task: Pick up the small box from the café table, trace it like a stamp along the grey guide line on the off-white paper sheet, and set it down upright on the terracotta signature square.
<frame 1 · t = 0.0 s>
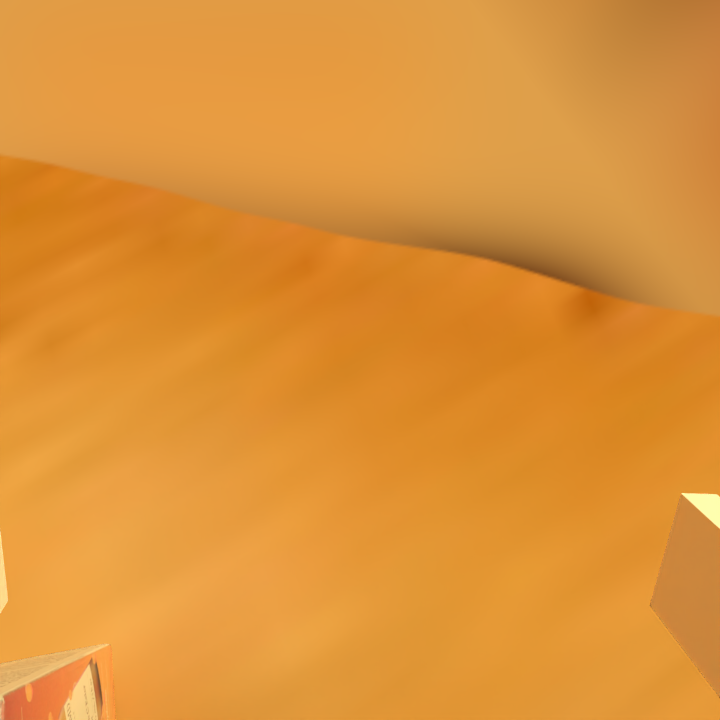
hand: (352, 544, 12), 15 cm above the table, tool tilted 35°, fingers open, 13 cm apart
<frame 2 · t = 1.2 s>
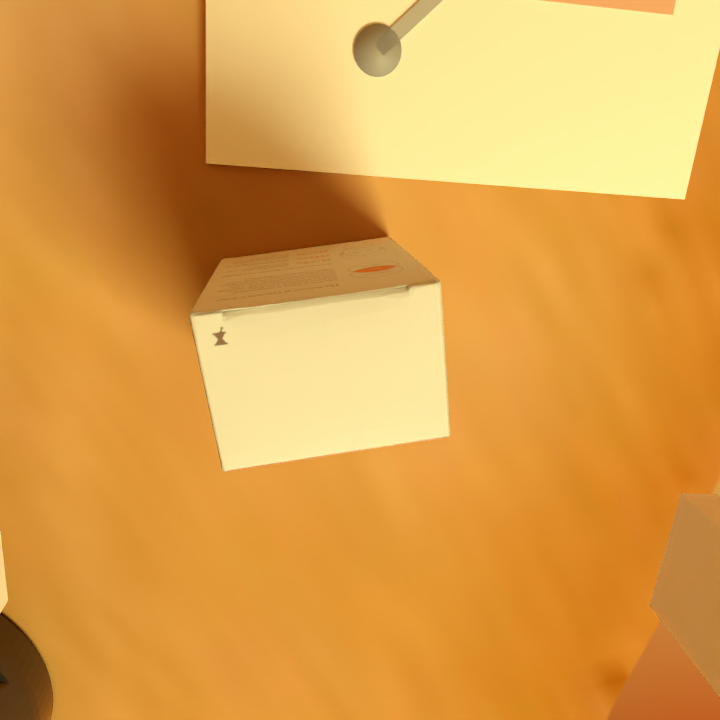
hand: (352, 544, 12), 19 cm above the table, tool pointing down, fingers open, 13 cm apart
small box: (314, 302, 30), on the table
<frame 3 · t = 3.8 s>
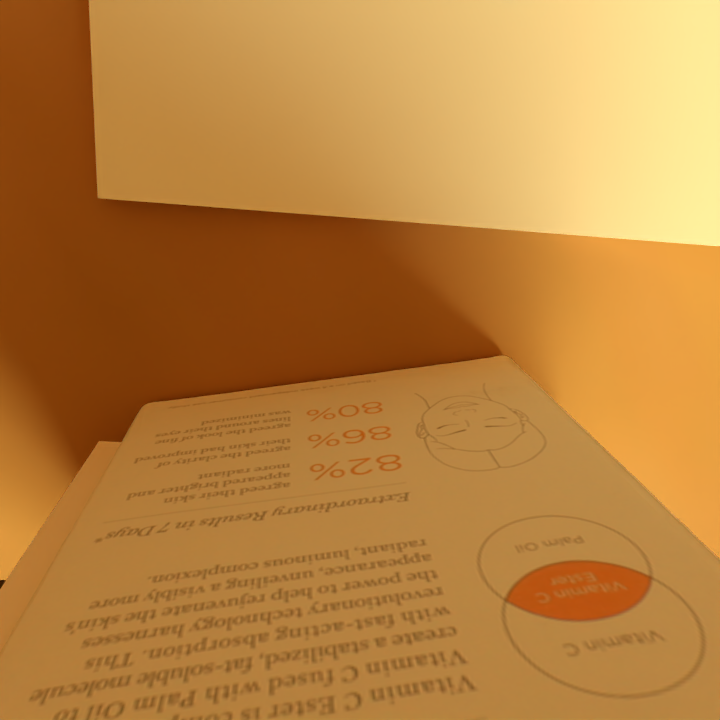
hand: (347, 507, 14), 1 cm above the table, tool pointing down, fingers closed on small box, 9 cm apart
small box: (343, 480, 15), on the table, touching gripper
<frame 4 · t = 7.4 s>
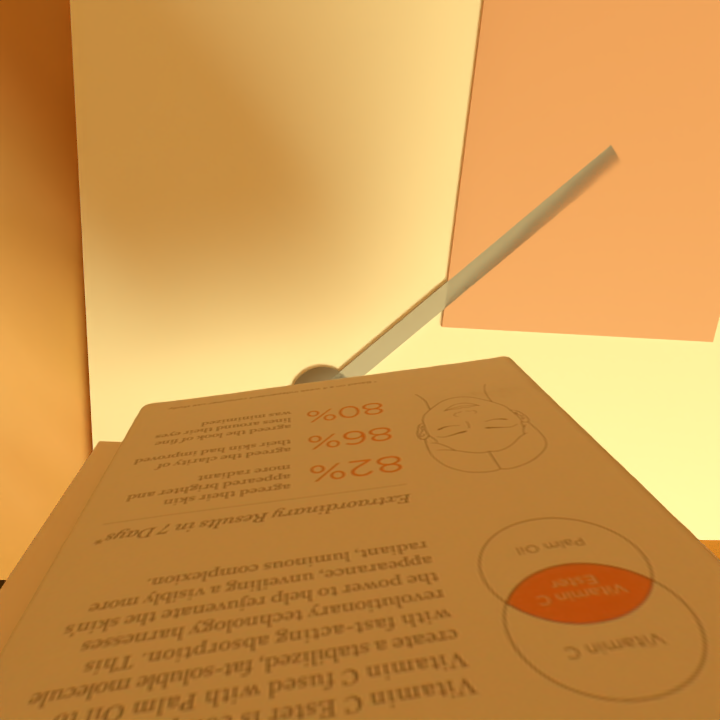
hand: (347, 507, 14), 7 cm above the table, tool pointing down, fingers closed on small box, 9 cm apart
small box: (344, 481, 15), point 6 cm above the table, touching gripper
paper sheet: (460, 276, 19), on the table
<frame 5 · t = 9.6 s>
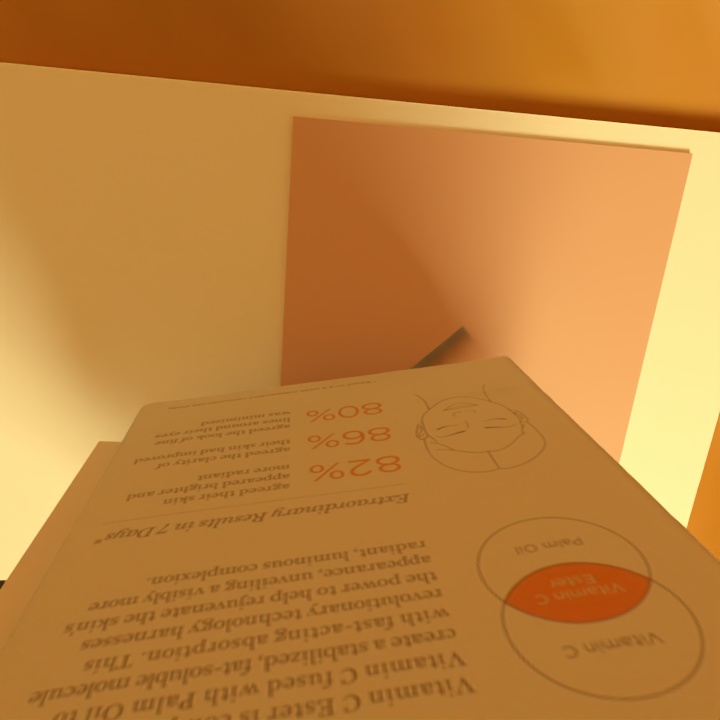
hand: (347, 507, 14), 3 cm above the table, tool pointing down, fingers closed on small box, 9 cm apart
small box: (343, 481, 15), point 2 cm above the table, touching gripper
paper sheet: (296, 466, 16), on the table
when the fingers open (3 cm above the table, at t = 11.5 s): small box drops 1 cm, resting on paper sheet.
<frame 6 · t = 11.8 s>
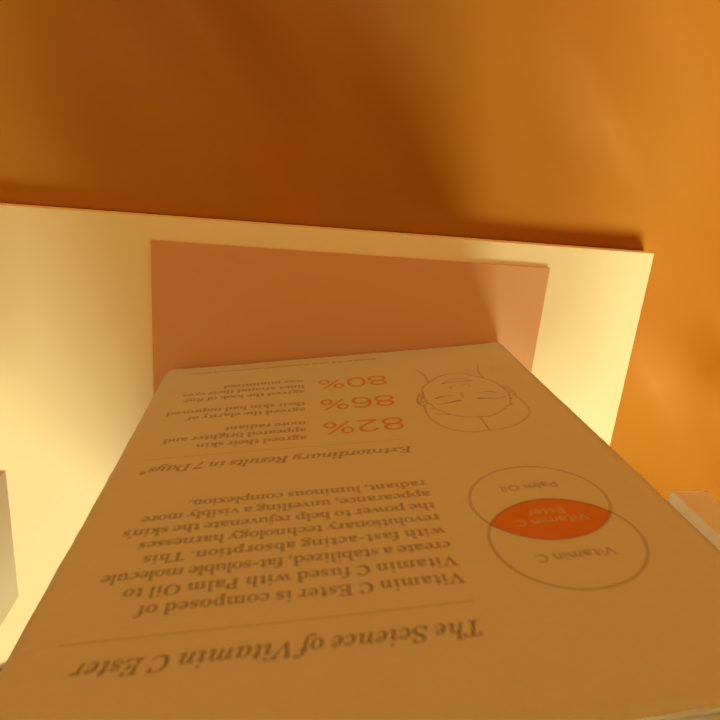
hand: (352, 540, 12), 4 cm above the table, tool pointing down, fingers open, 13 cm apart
small box: (344, 451, 16), resting on paper sheet
paper sheet: (180, 559, 17), on the table
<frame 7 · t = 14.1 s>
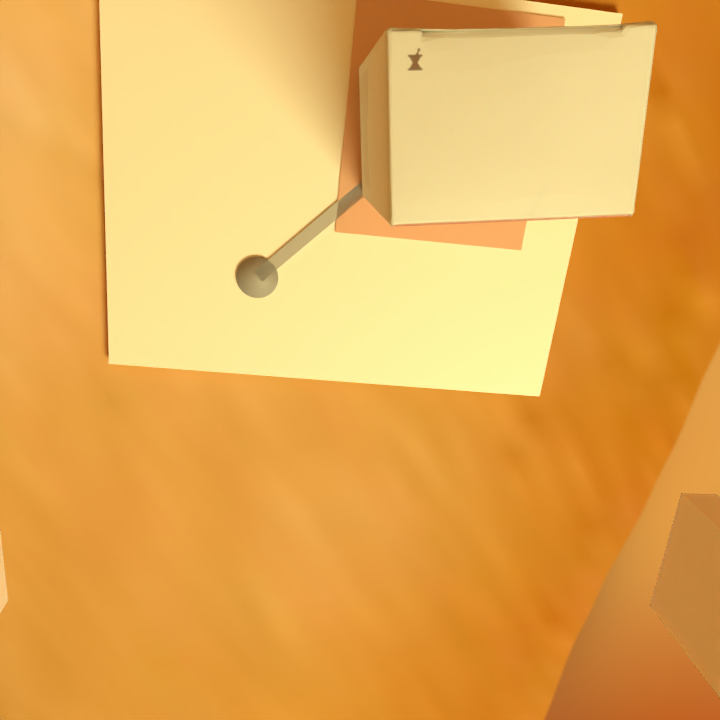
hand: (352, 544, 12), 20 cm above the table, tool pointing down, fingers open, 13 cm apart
small box: (447, 130, 29), resting on paper sheet
paper sheet: (348, 199, 30), on the table
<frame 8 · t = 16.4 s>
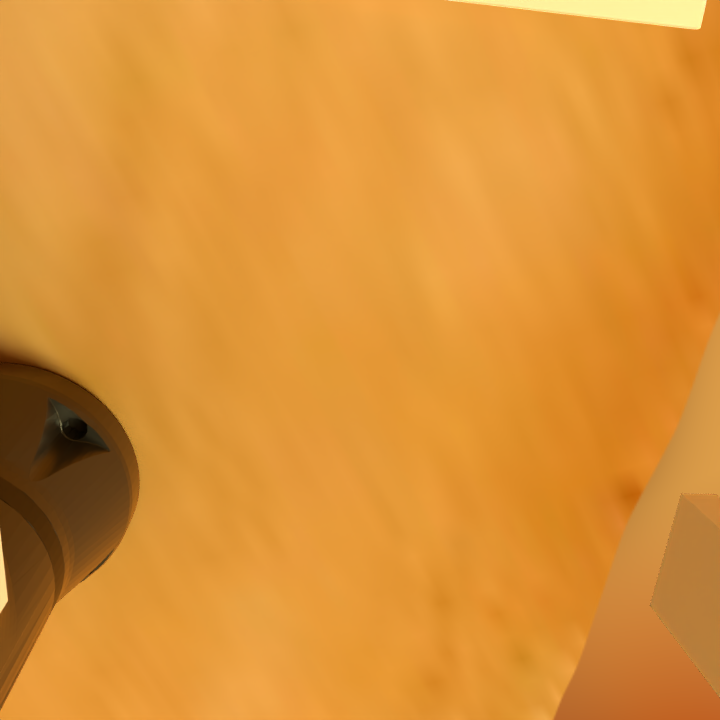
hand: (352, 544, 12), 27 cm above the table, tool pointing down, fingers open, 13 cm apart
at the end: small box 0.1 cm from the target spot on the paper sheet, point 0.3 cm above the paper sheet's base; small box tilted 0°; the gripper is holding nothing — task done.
